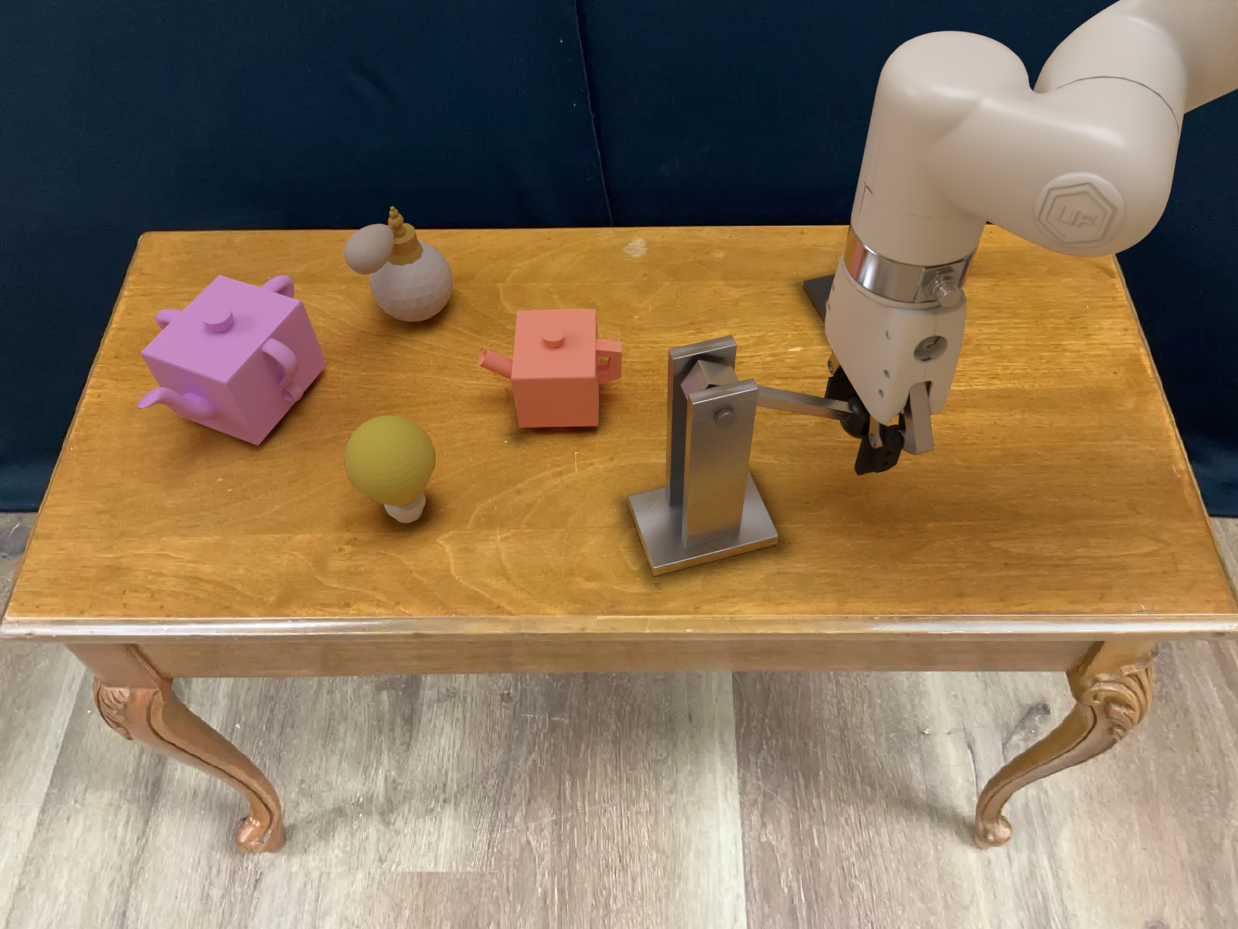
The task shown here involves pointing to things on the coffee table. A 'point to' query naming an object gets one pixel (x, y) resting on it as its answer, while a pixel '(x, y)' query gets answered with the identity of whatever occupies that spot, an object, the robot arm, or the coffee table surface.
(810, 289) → the button block
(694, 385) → the lever
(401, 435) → the light bulb
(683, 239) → the coffee table surface
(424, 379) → the coffee table surface
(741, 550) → the lever stand
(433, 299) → the perfume bottle
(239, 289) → the teapot
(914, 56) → the robot arm
